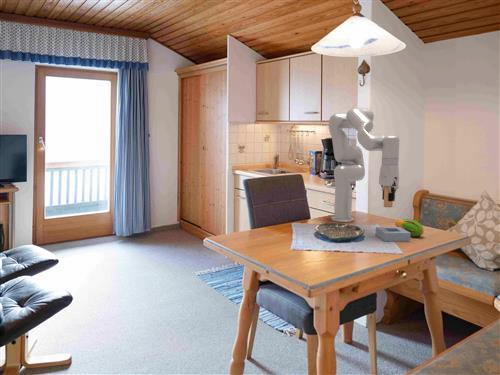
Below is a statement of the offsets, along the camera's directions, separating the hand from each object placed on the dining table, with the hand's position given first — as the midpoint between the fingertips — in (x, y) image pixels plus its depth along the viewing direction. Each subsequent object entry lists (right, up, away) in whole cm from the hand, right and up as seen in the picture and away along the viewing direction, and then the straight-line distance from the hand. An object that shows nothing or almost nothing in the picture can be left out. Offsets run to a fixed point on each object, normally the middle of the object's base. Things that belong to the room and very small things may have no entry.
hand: (388, 199), depth 203 cm
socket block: (+2, -18, 0) cm, 18 cm away
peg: (0, -3, 0) cm, 3 cm away
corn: (+12, -17, +9) cm, 23 cm away
